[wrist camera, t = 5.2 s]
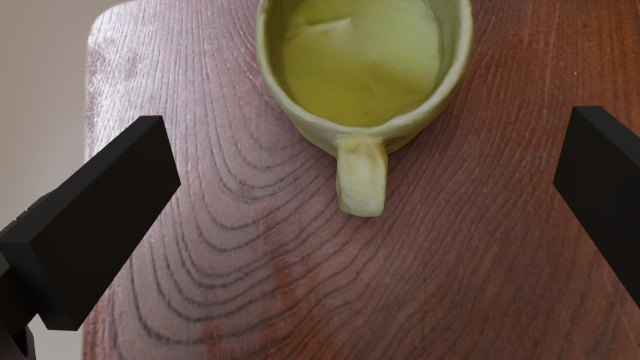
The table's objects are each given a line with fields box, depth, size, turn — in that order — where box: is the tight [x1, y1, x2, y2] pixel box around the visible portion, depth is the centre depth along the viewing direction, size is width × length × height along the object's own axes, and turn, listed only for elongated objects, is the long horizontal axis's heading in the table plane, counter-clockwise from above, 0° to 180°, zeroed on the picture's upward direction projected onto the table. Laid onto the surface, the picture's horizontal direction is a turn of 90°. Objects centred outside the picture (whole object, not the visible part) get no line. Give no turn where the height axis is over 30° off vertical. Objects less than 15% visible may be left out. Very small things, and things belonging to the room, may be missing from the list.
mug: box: [254, 0, 474, 217], centre depth 21 cm, size 12×10×10 cm
